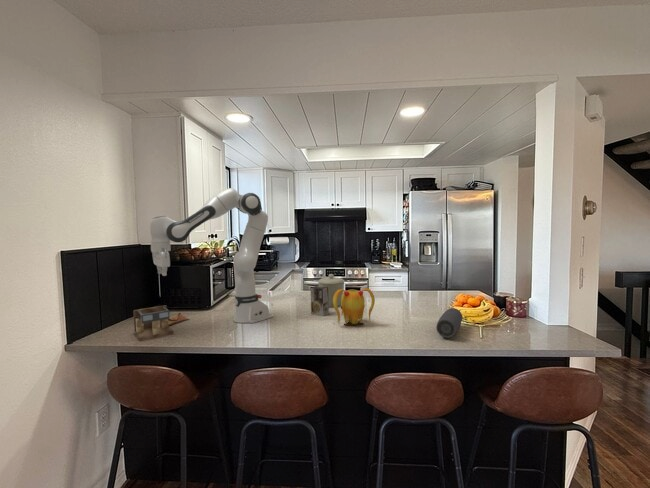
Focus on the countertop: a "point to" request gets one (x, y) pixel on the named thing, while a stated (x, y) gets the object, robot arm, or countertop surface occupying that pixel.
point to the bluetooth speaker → (449, 322)
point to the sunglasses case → (176, 319)
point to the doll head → (352, 306)
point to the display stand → (151, 325)
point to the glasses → (154, 316)
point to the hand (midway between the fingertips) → (162, 274)
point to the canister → (332, 288)
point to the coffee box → (319, 300)
